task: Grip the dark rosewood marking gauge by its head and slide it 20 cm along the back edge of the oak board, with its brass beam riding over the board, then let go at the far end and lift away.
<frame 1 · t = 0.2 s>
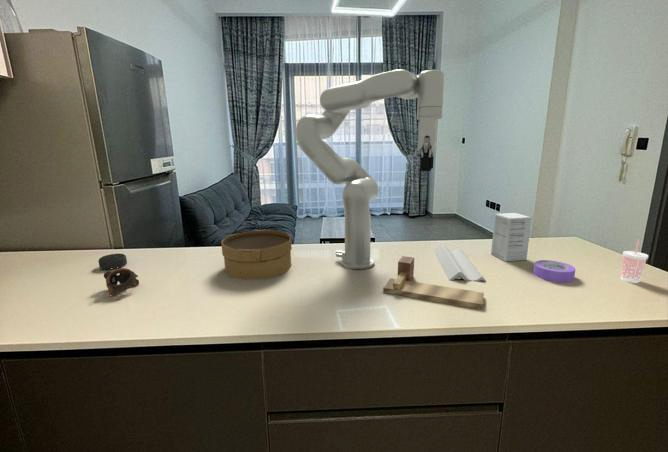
hand: (426, 169, 108), 36 cm above the worktop, tool pointing down, fingers open, 9 cm apart
masking tape: (552, 276, 114), on the worktop
oak board: (432, 294, 101), on the worktop
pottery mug: (122, 290, 107), on the worktop
crown molding: (455, 266, 126), on the worktop
supplement box: (508, 257, 132), on the worktop
smart speaker: (114, 267, 128), on the worktop
steamer basket: (258, 267, 126), on the worktop
beverage cup: (629, 280, 109), on the worktop
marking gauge: (405, 279, 112), on the worktop
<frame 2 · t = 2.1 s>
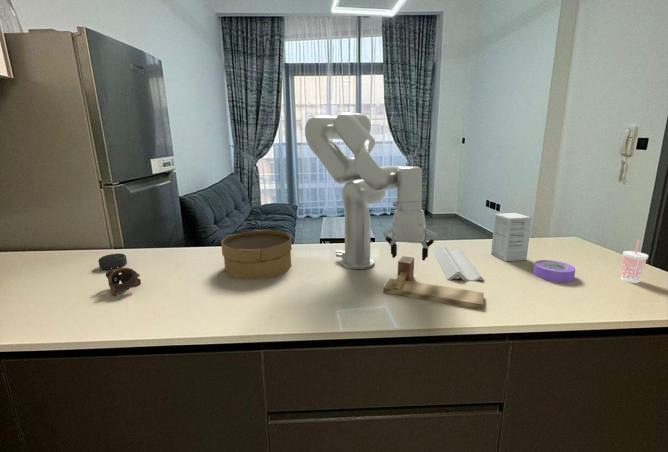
hand: (409, 257, 110), 8 cm above the worktop, tool pointing down, fingers open, 9 cm apart
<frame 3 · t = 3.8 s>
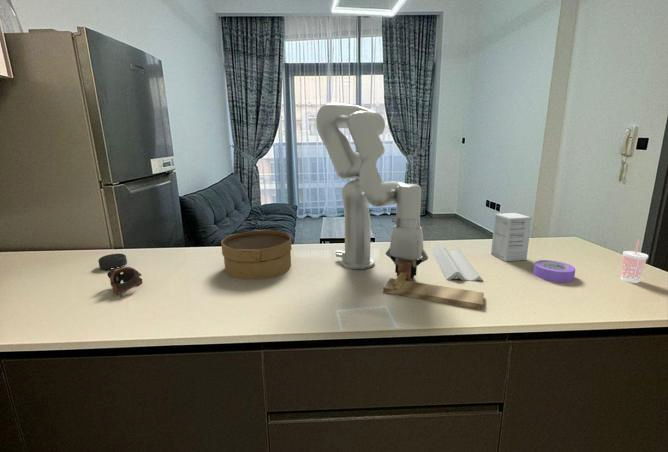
hand: (405, 275, 112), 1 cm above the worktop, tool pointing down, fingers closed on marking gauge, 4 cm apart
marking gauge: (405, 279, 112), on the worktop, touching gripper
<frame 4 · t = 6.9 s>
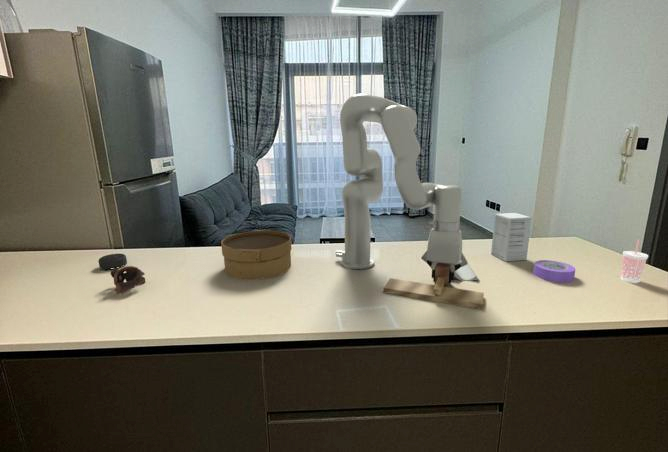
hand: (442, 280, 107), 1 cm above the worktop, tool pointing down, fingers closed on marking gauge, 4 cm apart
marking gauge: (442, 284, 107), on the worktop, touching gripper
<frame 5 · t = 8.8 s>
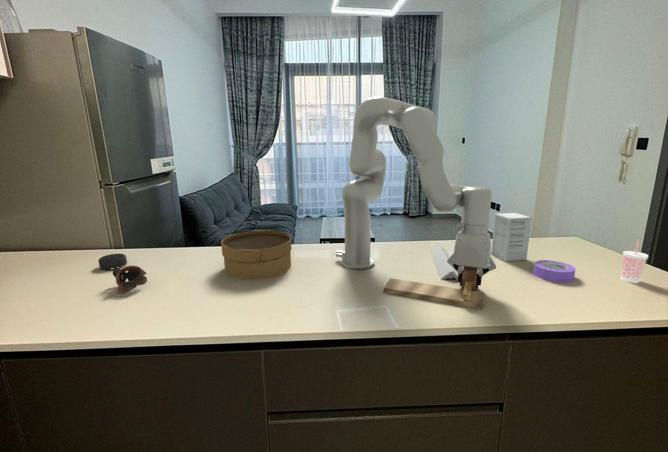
hand: (469, 285, 104), 1 cm above the worktop, tool pointing down, fingers closed on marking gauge, 4 cm apart
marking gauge: (468, 288, 104), on the worktop, touching gripper
when the fingers open (1 cm above the worktop, at t = 10.0 s): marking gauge stays where it is, on the worktop.
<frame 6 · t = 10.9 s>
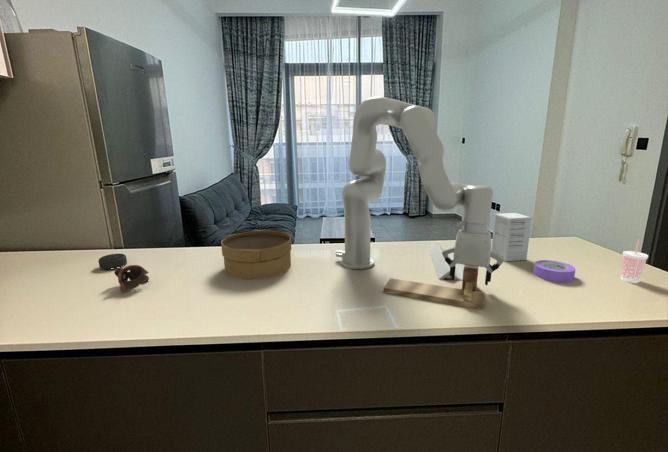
hand: (469, 280, 104), 3 cm above the worktop, tool pointing down, fingers open, 9 cm apart
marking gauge: (469, 289, 104), on the worktop
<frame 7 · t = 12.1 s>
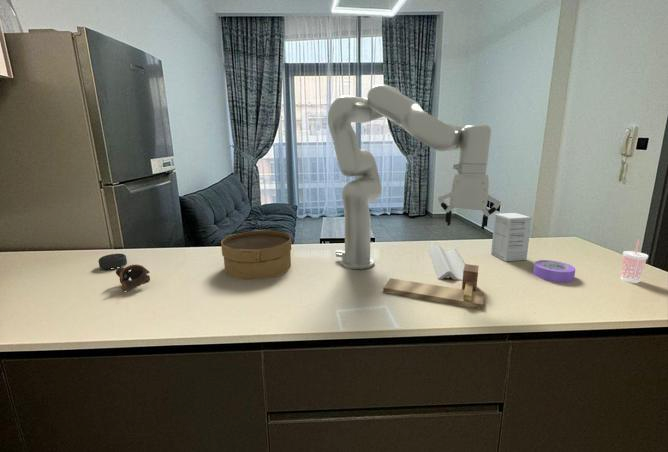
hand: (465, 226, 102), 20 cm above the worktop, tool pointing down, fingers open, 9 cm apart
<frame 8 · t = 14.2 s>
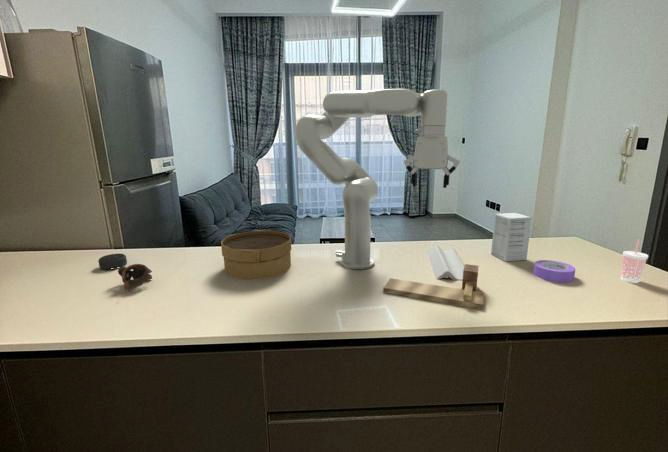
hand: (429, 186, 110), 30 cm above the worktop, tool pointing down, fingers open, 9 cm apart
at the end: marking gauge 0.1 cm from the target spot, on the worktop; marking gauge tilted 0°; the gripper is holding nothing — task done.
